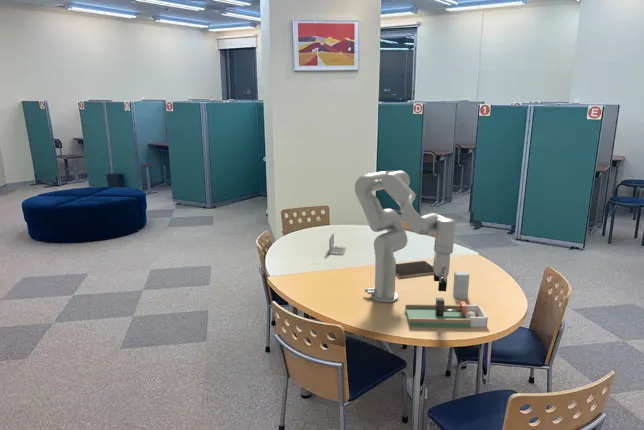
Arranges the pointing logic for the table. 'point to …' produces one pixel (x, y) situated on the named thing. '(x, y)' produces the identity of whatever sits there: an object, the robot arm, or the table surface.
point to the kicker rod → (440, 309)
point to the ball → (471, 314)
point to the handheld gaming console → (333, 249)
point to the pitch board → (434, 316)
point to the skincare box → (461, 285)
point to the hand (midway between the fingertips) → (439, 285)
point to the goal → (477, 321)
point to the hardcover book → (413, 269)
